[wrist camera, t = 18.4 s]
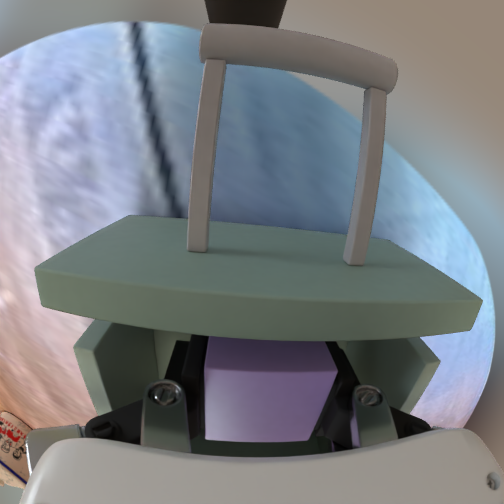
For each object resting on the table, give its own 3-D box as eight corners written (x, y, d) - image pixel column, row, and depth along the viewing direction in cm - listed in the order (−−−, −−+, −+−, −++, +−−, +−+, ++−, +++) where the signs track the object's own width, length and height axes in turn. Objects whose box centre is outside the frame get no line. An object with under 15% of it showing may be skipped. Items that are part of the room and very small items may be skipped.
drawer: (142, 72, 10) (62, 6, 3) (405, 109, 11) (510, 89, 4) (150, 412, 17) (129, 492, 10) (326, 420, 18) (349, 496, 11)
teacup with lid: (43, 434, 20) (14, 494, 9) (52, 457, 23) (31, 508, 12) (-18, 388, 19) (-52, 435, 7) (-3, 418, 21) (-29, 461, 10)
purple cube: (214, 302, 11) (203, 367, 7) (310, 308, 11) (339, 370, 7) (211, 373, 12) (204, 439, 8) (293, 377, 12) (308, 441, 9)
